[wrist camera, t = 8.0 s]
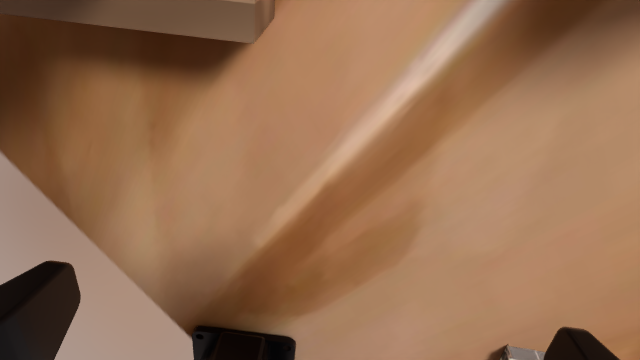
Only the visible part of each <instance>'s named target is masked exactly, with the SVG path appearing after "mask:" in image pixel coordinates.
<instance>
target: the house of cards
mask: <svg viewBox="0 0 640 360" xmlns="http://www.w3.org/2000/svg"><path fill="white" fill-rule="evenodd" d="M545 353H546V352H541V351H536V350H530V349H523V348H517V347H510V346H509V345H507V347H506V349H505V351H504V352H503V354H502V356H501V358H500V360H543V359H544V355H545Z"/></svg>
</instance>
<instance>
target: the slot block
mask: <svg viewBox="0 0 640 360" xmlns="http://www.w3.org/2000/svg"><path fill="white" fill-rule="evenodd" d="M274 9H275V0H0V14H7V15H16V16H24V17H33V18H41V19H50V20H58V21H67V22H75V23H83V24H92V25H100V26H109V27H117V28H126V29H134V30H143V31H151V32H160V33H168V34H176V35H185V36H193V37H202V38H210V39H219V40H227V41H236V42H244V43H253V44H254V43H255V42H256V40H257V39H258V38H259V37H260V35H261V34H262V33H263V32H264V30H265V29H266V28H267V26H268V25H269V24H270V23H271V21H272V20H273V19H274Z"/></svg>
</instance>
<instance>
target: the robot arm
mask: <svg viewBox="0 0 640 360" xmlns="http://www.w3.org/2000/svg"><path fill="white" fill-rule="evenodd" d="M79 303H80V291H79V287H78V283H77V279H76V275H75V271H74V268H73V266H72V265H71V264H69V263H66V262H58V261H46V262H43V263H41V264H39V265H38V266H36V267H34V268H32V269H30V270H29V271H26V272H24V273H23V274H21V275H19V276H17V277H15V278H13V279H11V280H9V281H8V282H6V283H4V284H2V285H0V360H54V359H55V356H56V354H57V352H58V350H59V348H60V346H61V344H62V341H63V339H64V337H65V335H66V333H67V330H68V328H69V326H70V324H71V322H72V320H73V317H74V315H75V313H76V311H77V309H78V306H79ZM192 341H193V353H194V360H294V359H295V350H296V342H295V340H293V339H292V338H287V337H280V336H272V335H264V334H257V333H249V332H241V331H234V330H226V329H218V328H210V327H203V326H198V327H196V328H195V329H194V331H193V334H192ZM543 360H620V359H619V358H617V357H616V356H615V355H614V354H613V353H612V352H611V351H610V350H609V349H607V348H606V347H605V346H604V345H603V344H602V343H601V342H600V341H598V340H597V339H596V338H595V337H594V336H593V335H592V334H591V333H589V332H588V331H586V330H584V329H579V328H571V327H562V328H560V329H559V330H558V331H557V333H556V335H555V336H554V338H553V340H552V342H551V344H550V345H549V347H548V349H547V351H546V353H545V355H544V359H543Z"/></svg>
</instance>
